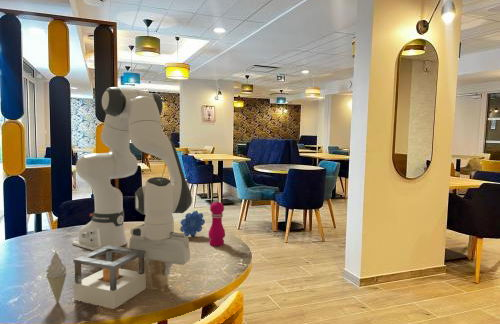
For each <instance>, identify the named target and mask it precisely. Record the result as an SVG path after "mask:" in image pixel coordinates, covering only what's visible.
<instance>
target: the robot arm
mask: <svg viewBox="0 0 500 324" xmlns="http://www.w3.org/2000/svg"><path fill="white" fill-rule="evenodd" d="M163 105H164V104H163V100H162V99H161V97H160V96H159V95H158V94H156V93H153V92H147V91H144V90H140V89H137V88H136V89H131V88H123V87H122V88H121V87H119V86H112V87H111V86H110V87H108V88H106V89H105V90H104V91H103V94H102V96H101V107H102V110H103V111H104V113H105V118H104V122H103V125H102V126H103V127H102V130H101V134H100V140H101V142H102V144H103V145H105V146H106V147H107V148H109V151H108V152H102V153H101V152H100V153H98V152H97V153H94V152H93V153H89V154H85V155H82V156H80V157H79V158H78V159H77V161H76V163H75V171H76V173H77V175H78V177H79V178H80V179H82V180H83V181H85V182H86V183H87V184H88V185H89V187H90V189H91V191H92V194H93V200H94V211H93V212H92V213H90V214H89V217H91V220H90V221H89V222H87V223H86V224H85V225H84V226H82V227H81V228H80V230H79V232H78V238H77V239H75V240H73V241H72V245H73V246H77V247H81V248H84V249H88V250H91V251H95V250H98V249H100V248H103V247H105V246H108V245H110V246H117V247H123V246H125V245H127V243H128V241H127V237H126V232H125V226H124V221H125V220H124V219H125V211H124V208H123V207H124V206H123V202H124V201H123V200H124V199H123V193H122V192H121V190H120V189H118V188H117V187H115V186H113V185H112V184H111V180H113V179H123V178H128V177H130V176H134V175H135V174H136V173H137V170H138V166H139V165H138V159H137V157H136V156H135V155H134V154H133V153H132V151H131V149H130V142H131V143H132V145H133V146H134V147H135V148H136V149H138V150H139V151H141V152H143V153H145V154H148V155H152V156H154V157H157V158H158V159H160V160H161V161H163V162H164V164H165V165H166V166H167V167H166V169H167V170H168V174H169V178H170V179H168V178H166V177H160V176H156V177H154V176H153V177H151V178H148V179H147V180H146V182H145V185H142V186H140V187H139V188H137V190H136V191H135V192H134V209H135V210H136V212H138V213H140V215H145V217H144V223H143V224H140V225H137V226H135V227H133V228H131V229H130V230H129V232H130V233H129V234H130V235H131V236H130V238H129V243H128V248H130V249H137V250H143V251H145V254H144V260H145V264H146V265H147V266H148V273H149V274H151V260H157V261H161V262H165V265H167V267H166V268H165V269H163V275H165V276H167V277H168V276H170V274H171V273H170V272H171V271H170V270H171V268H172V266H173V265H174V264H175V265H181V266H184V265H186V264H187V263H189V261H190V260H191V256H190V255H191V254H190V253H191V252H190V238H189V236H186V235H185V234H184V232H175V228H174V227H175V226H174V225H175V223H174V222H175V220H174V215H173V214H184V213H186V211H187V210H188V209H189V208H190V207H191V206H192V203H193V197H192V192H191V189H190V186H189V184H188V182H187V180H186V177H185V173H184V171H183V166H182V164H181V161H180V160H181V159H180V158H179V155H178V151H177V148H176V146H175V144H174V142H173V141H172V140H171V139H169V138H168V137H167V135H165V132H164V130H163V128H162V120H161V118H162V117H161V115H162V113H163V107H164V106H163ZM137 259H139V257H138V258H137Z"/></svg>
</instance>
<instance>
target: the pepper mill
mask: <svg viewBox="0 0 500 324" xmlns="http://www.w3.org/2000/svg"><path fill="white" fill-rule="evenodd" d="M214 201H215V202H211V205H210V206H209V210H210V212H211V213H210V215H211V216H210V217H211V221H212V222H211V226H210V227H209V231H208V238H209V246H211V247H221V246H224V244H225V240H224V239H225V237H226V230H225V228H224V225H223V222H222V221H223V220H222V219H223V217H224V216H223V215H224V210H225V206H224V204H223V203H222V202H220V199H219V198H215V200H214Z"/></svg>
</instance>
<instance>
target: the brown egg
mask: <svg viewBox="0 0 500 324" xmlns="http://www.w3.org/2000/svg"><path fill="white" fill-rule="evenodd" d="M119 268H120V267H118V268H116V275H117V280H118V279H119ZM102 270H103V281H105V282H110V269H105V268H102Z"/></svg>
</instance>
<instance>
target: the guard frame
mask: <svg viewBox="0 0 500 324" xmlns="http://www.w3.org/2000/svg"><path fill="white" fill-rule="evenodd" d="M113 253H116V254H120V255H121V254H123V255H124V256H122V257H120V258H119V259H116V260H113V257H112V254H113ZM144 254H145V251H143V250H137V249H130V248H129V247H123V246H120V247H117V246H110V245H108V246H105V247H103V248H100V249H98V250H92V251H91V252H88V253H86V254H83V255H81V256H78V257H76V258H73V259H72V260H73V264H74V283H77V284H79V283H81V282H82V279H83V278H82V265H83V266H89V267H95V268H101V269H103V268H105V269H110V290H111V291H115V290H116V289H117V275H116V268H118V267H119V268H120V267H122V266H124V265H126V264H128V263H130V262H132V261H134V260H136V259H138V272H139V274H144V273H145V259H144ZM102 255H105V260H102V259H96V258H98V257H100V256H102ZM138 257H139V258H138ZM112 260H113V261H112Z"/></svg>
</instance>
